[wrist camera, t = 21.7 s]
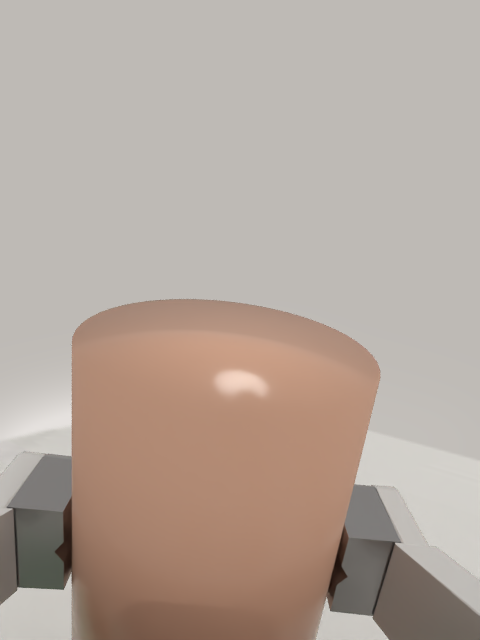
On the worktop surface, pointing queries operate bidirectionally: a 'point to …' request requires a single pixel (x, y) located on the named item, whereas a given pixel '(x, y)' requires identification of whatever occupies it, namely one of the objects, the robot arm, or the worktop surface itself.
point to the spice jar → (211, 469)
